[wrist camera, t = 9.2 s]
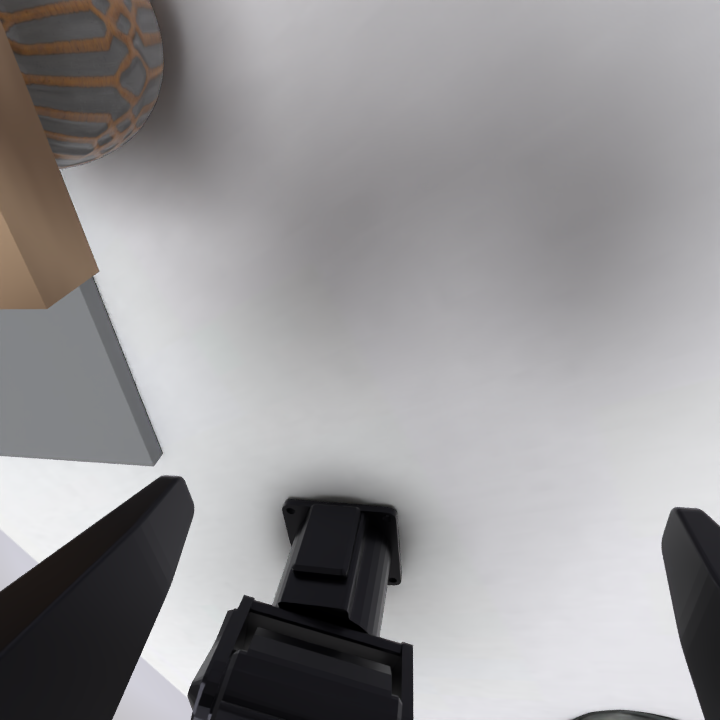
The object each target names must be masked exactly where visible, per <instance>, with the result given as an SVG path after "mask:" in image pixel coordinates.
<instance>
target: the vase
mask: <svg viewBox="0 0 720 720" xmlns="http://www.w3.org/2000/svg"><path fill="white" fill-rule="evenodd" d="M0 21H1V23H2V26H3V28H4V31H5V33H6V36H7V38H8V41H9V43H10V46H11V48H12V51H13V54H14V56H15V59H16V61H17V64H18V66H19V69H20V71H21V74H22V76H23V79H24V81H25V84H26V86H27V89H28V92H29V94H30V97H31V99H32V102H33V104H34V107H35V109H36V112H37V114H38V117H39V119H40V122H41V125H42V127H43V130H44V132H45V135H46V137H47V140H48V142H49V145H50V147H51V150H52V152H53V155H54V158H55V160H56V163H57V165H58V168H59V169H63V168H69V167H75V166H79V165H82V164H85V163H88V162H91V161H94V160H97V159H99V158H101V157H103V156H105V155H107V154H109V153H111V152H113V151H114V150H116V149H117V148H119V147H121V146H122V145H124V144H125V143H126V142H128V141H129V140H130V139H131V138H132V137H133V136H134V135H135V134H136V133H137V132H138V131H139V129H140V128H141V127H142V126H143V125H144V123H145V122H146V120H147V119H148V117H149V115H150V113H151V112H152V110H153V108H154V106H155V103H156V101H157V98H158V95H159V91H160V87H161V83H162V77H163V68H164V56H163V45H162V39H161V34H160V29H159V26H158V22H157V19H156V16H155V13H154V11H153V8H152V6H151V3H150V1H149V0H0Z"/></svg>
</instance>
